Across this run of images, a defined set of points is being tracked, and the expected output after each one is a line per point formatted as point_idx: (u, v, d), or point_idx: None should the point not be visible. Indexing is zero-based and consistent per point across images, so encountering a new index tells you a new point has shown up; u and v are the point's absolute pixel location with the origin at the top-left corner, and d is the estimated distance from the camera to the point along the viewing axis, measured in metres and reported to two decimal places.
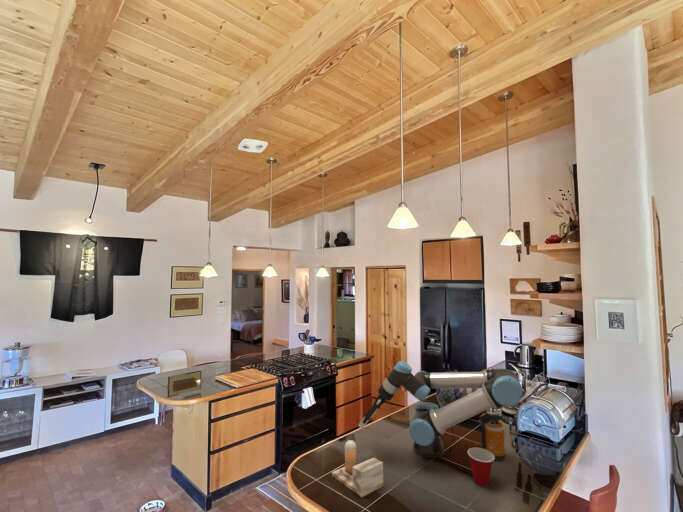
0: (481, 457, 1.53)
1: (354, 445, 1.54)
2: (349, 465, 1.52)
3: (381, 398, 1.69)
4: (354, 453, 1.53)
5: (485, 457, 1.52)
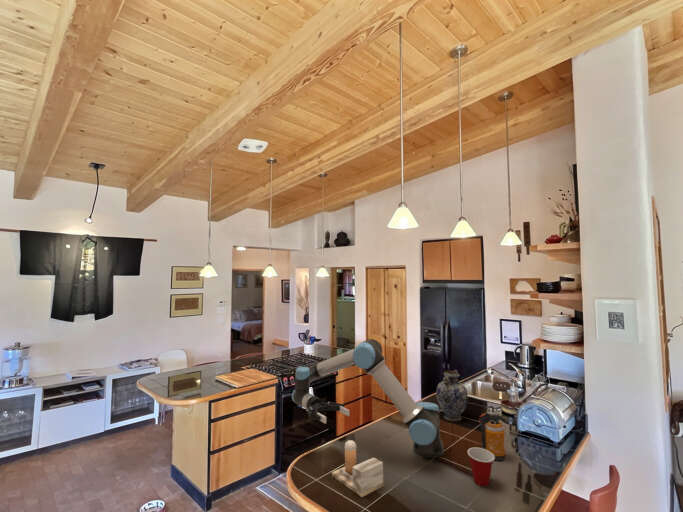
0: (481, 457, 1.53)
1: (354, 445, 1.54)
2: (349, 465, 1.52)
3: (310, 407, 1.74)
4: (354, 453, 1.53)
5: (485, 457, 1.52)
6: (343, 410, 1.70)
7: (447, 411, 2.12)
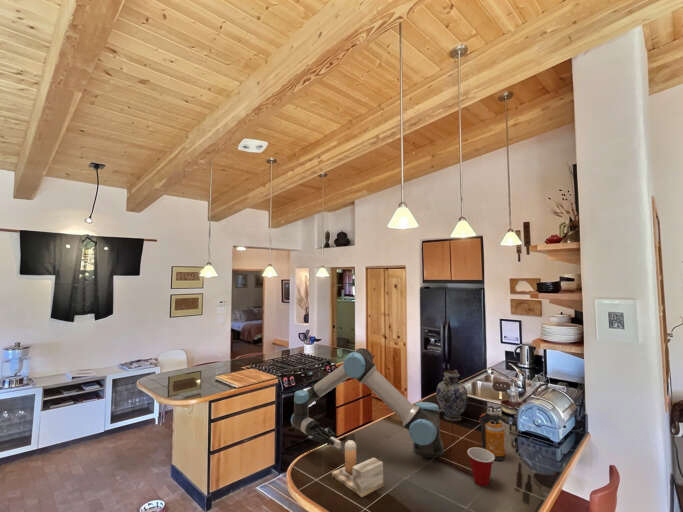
0: (481, 457, 1.53)
1: (354, 445, 1.54)
2: (349, 465, 1.52)
3: (309, 433, 1.73)
4: (354, 453, 1.53)
5: (485, 457, 1.52)
6: None
7: (447, 411, 2.12)
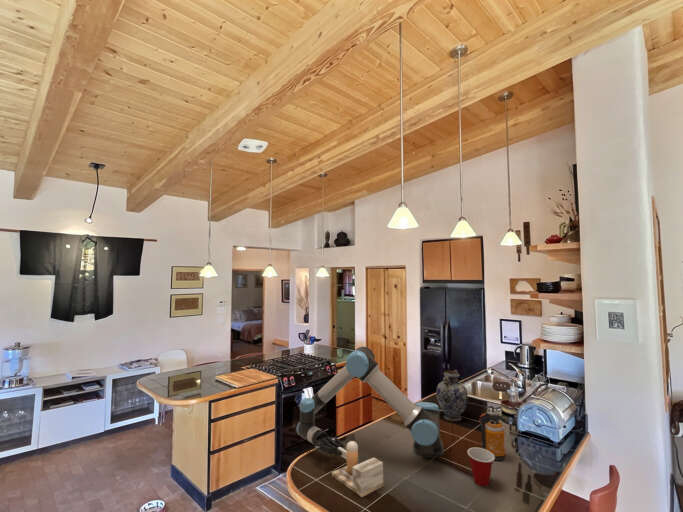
0: (481, 457, 1.53)
1: (356, 446, 1.53)
2: (351, 466, 1.51)
3: (316, 443, 1.68)
4: (356, 454, 1.52)
5: (485, 457, 1.52)
6: None
7: (447, 411, 2.12)
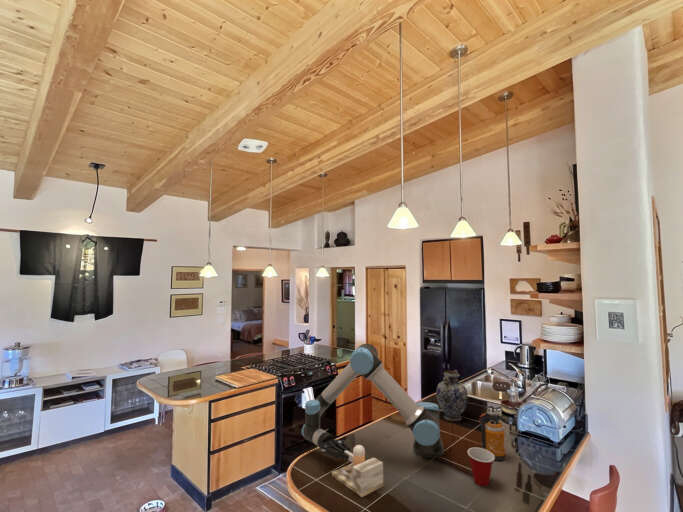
0: (481, 457, 1.53)
1: (363, 450, 1.49)
2: None
3: (322, 446, 1.64)
4: (363, 458, 1.49)
5: (485, 457, 1.52)
6: None
7: (447, 411, 2.12)
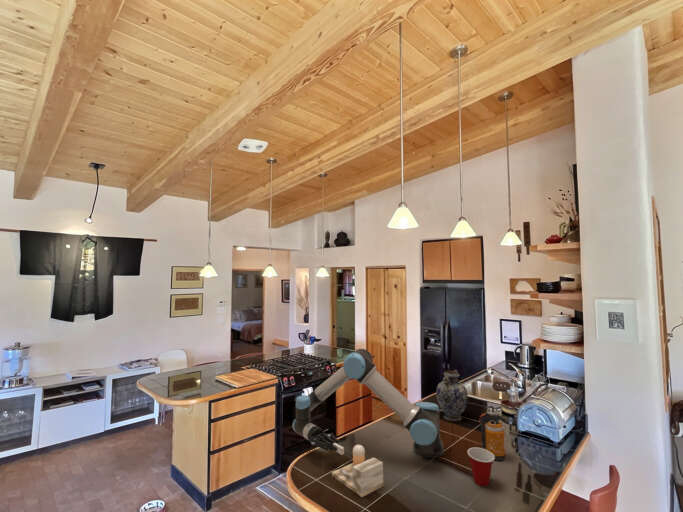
0: (481, 457, 1.53)
1: (362, 450, 1.50)
2: None
3: (311, 439, 1.71)
4: (362, 458, 1.49)
5: (485, 457, 1.52)
6: None
7: (447, 411, 2.12)
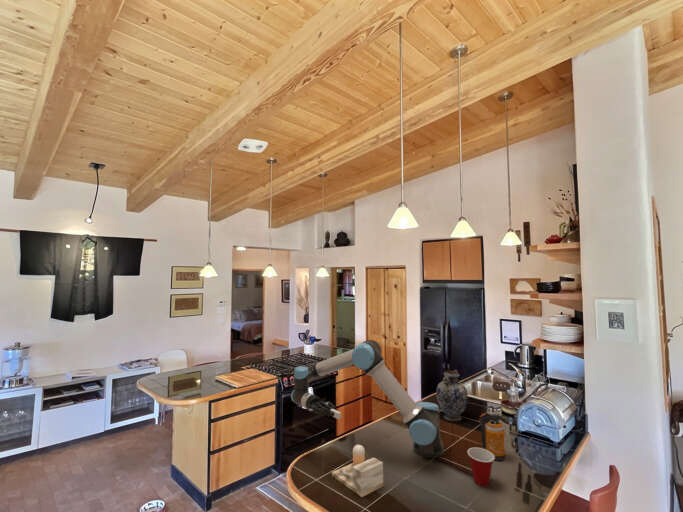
0: (481, 457, 1.53)
1: (362, 450, 1.50)
2: None
3: None
4: (362, 458, 1.49)
5: (485, 457, 1.52)
6: None
7: (447, 411, 2.12)
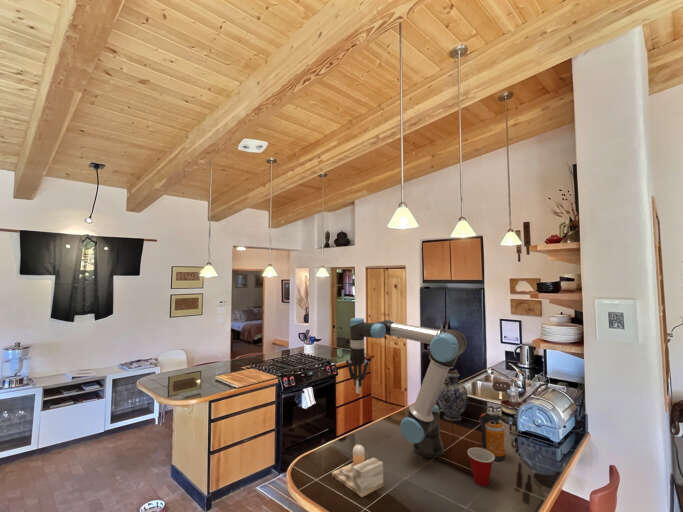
0: (481, 457, 1.53)
1: (362, 450, 1.50)
2: None
3: None
4: (362, 458, 1.49)
5: (485, 457, 1.52)
6: None
7: (447, 411, 2.12)
